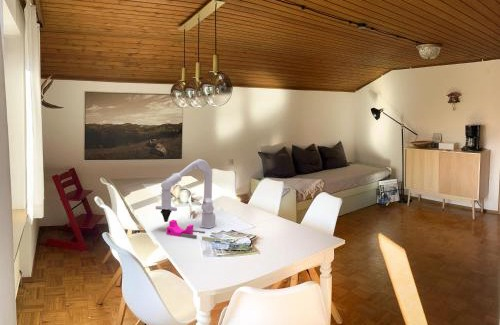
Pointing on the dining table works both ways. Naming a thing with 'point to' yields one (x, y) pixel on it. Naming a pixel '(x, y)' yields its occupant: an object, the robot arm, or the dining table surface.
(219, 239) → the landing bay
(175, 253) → the dining table surface
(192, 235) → the channel
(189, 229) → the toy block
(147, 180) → the dining table surface
